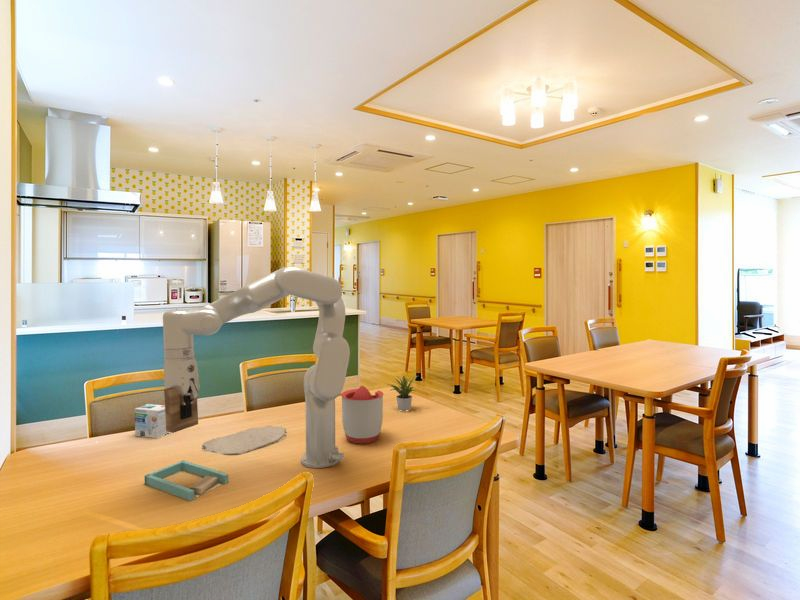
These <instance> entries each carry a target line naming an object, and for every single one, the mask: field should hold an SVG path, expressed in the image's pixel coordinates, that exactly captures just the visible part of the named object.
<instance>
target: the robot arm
mask: <svg viewBox="0 0 800 600" xmlns="http://www.w3.org/2000/svg"><path fill="white" fill-rule="evenodd" d="M342 294H343V287H342V285H341V283H340V281H338V280H337V279H335V278H334V277H331V276H328V275H324V274H320V273H317V272H313V271H310V270H308V269H307V270H306V269H303V268H300V267H298V266H283V267H281V268H279V269H277V270H275V271H273V272H271V273H269V274H267V275H265V276H263V277H260V278H258V279H256V280H255V281H253V282H250V283H249V284H247V285H246V284H245V285H244V286H241V287H240V288H238V289H237V290H235V291H233V292H231V293H229V294H227V295H225V296H223V297H221V298H219V299H217V300H215V301H213V302H210V303H209V304H207V305H205V306H203V307H201V308H199V309H198V310H193V311H190V310H188V309H172V310H166V311H165V312H164V313H163V314H162V327H163V328H162V329H163V330H162V331H163V332H162V333H163V352H164V356H163V357H164V364H163V385H164V389H167V388H175V389H177V392H178V394H180V395H181V404H182V405H181V406H180V415H181V419H186V418H189V417H191V416H192V406H191V403H193V400H194V398H196V397H197V398H198V396H199V394H198V392H199V391H200V376H199V368H198V363H197V360H196V358H195V351H194V348H195V347H194V336H195V335H197V336H211V335H214V334H217V332H218V331H220V329H221V327H222V326H223V325H224V324H226V323H228V322H230V321H232V320H234V319H237V318H238V317H241V316H244V315H248V314H254V313H256V312H259V311H261V310H263V309H265V308H267V307H269V306H271V305H272V304H273V305H274V304H275V303H277V302H278V301H280V300H282V299H285V298H287V297H288V296H294V297H296V298H300V299H304V300H307V301H311V302H315V303H316V306H317V307H318V321H317V327H316V332H315V336H314V340H313V344H312V350H313V355H314V356H315V357H316V358H317V359H318V360H317V363H316V364H313V365H311V366H310V367H309V368H307V370H306V371H305V374H304V377H303V391H304V399H305V401H304V402H305V453H304V454H303V455H302V456H301V457H300V458H301V459H300V461H301V464H302V465H303V466H305V467H308V468H313V469H322V468H323V469H324V468H328V467H333V466H335V465H336V464H338V463H342V462H343V460H344V457H345V453H344V452H339V446H336V399H337V398H338V397H339V396H341V394H342V391H343V389H344V385H345V380H346V376H347V373H348V372H347V371H348V367H349V363H350V362H349V361H350V357H351V354H350V353H351V349H350V346H349V345H350V344H349V342H348V341H347V339H345V338H344V337H343V335H344V328H345V322H346V307H345V304H344V300H343V297H342ZM185 396H188V397H186V399H185Z"/></svg>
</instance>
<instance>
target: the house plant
mask: <svg viewBox="0 0 800 600" xmlns="http://www.w3.org/2000/svg"><path fill="white" fill-rule="evenodd" d="M417 377H419V375H416V376H413V377H412V376H410V377H409V378H407V377H406V375H404V374H402V379H401V378H400V377H398V376H397V378H395V377H391V378H392V379H393V381H394V380H395V382H396V383H397V385H398V386H396V385H394V384H392V383H387V385H388V386H391V387H392V388H391V389H390V390H389V391H390V392H391V391H396V392H397V393H398V394H399V395H396V402H397V409H399V410H402V411H406V410H410V411H411V406H412V400H413V396H412V395H410V394H411V393H412V392H413V391H415V392H416V390H415V389H414V387H413V386H412V384H413V383H415V382H416V380H415V379H417ZM399 410H398V411H399Z"/></svg>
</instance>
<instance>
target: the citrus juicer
mask: <svg viewBox="0 0 800 600" xmlns="http://www.w3.org/2000/svg"><path fill="white" fill-rule="evenodd" d="M340 396H341V420H342V428H343V431H344V435H345V437H346V440H347V441H348V442H351V443H355V444H364V445H365V444H366V445H367V444H370V443H373V442H375V441H377V440H378V439H379V436H380V434H381V430H382V426H383V420H384V419H383V418H384V417H383V415H384V413H383V412H384V409H383V408H384V406H383V405H384V403H383V401H384V392H383V391H381V390H377V391H375V394H371V392H370V391H369V390H368V388H366V386H364V385H360V387H358V388H355V389H349V390H346V391H343V392H341V393H340Z"/></svg>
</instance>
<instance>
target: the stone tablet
mask: <svg viewBox="0 0 800 600" xmlns="http://www.w3.org/2000/svg"><path fill="white" fill-rule="evenodd" d="M286 432H287V428H286V427H283V426H273V425H267V426H263V427H251V428H247V429H245V430H242V431H239V432H235V433H232V434H229V435H226V436H221V437H220V436H219V437H215V438H211V439H209V440H207V441H205V442H202V445H201V448H202V450H203V449H206V450H205V451H206V452H210V453H214V454H219V455H223V456H224V455H225V456H234V455H242V454H243V453H244V454H246V453H250V452H252V451H253V452H254V451H255V450H258V449H263V448H265V447H268V446H270V445H273V444H276V443H280V442H281V441H283V440H285V439H286V437H287V433H286ZM244 454H243V455H244Z"/></svg>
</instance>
